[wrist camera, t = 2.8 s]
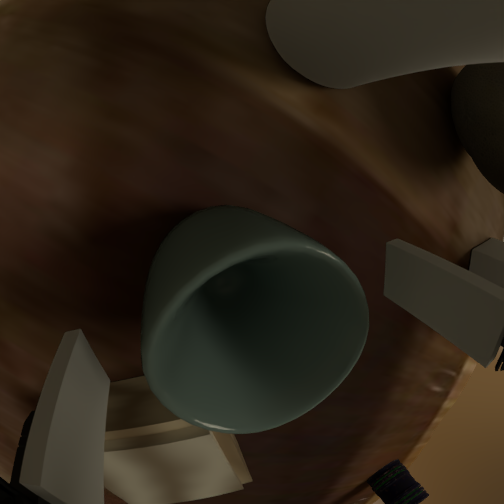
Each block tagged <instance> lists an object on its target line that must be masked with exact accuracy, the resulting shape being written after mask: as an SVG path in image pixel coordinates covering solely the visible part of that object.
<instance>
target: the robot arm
mask: <svg viewBox="0 0 504 504" xmlns="http://www.w3.org/2000/svg"><path fill="white" fill-rule="evenodd" d="M384 296H386V297H387V298H389V299H390V300H392V301H393V302H395V303H396V304H398V305H399V306H401V307H402V308H403V309H405V310H406V311H408V312H409V313H411V314H412V315H414V316H415V317H416V318H418V319H419V320H421V321H422V322H424V323H425V324H426V325H428V326H429V327H431V328H432V329H433V330H435V331H436V332H438V333H439V334H440V335H442V336H443V337H445V338H446V339H447V340H449V341H450V342H451V343H453V344H454V345H456V346H457V347H458V348H460V349H461V350H462V351H464V352H465V353H466V354H468V355H469V356H470V357H472V358H473V359H474V360H476V361H477V362H478V363H480V364H481V365H482V366H484V367H485V368H486V367H487V366H488V365H489V364H490V363H491V362H492V361H493V360H494V358H495V357H496V354H497V352H498V350H499V347H500V345H501V346H502V347H504V288H502V287H500V286H498V285H496V284H494V283H492V282H490V281H488V280H486V279H484V278H482V277H480V276H478V275H476V274H474V273H472V272H470V271H468V270H466V269H464V268H462V267H460V266H458V265H456V264H454V263H451V262H449V261H447V260H445V259H443V258H441V257H438V256H436V255H434V254H432V253H430V252H427V251H425V250H423V249H421V248H418V247H416V246H414V245H411V244H409V243H407V242H404V241H402V240H400V239H395V240H392V241H389V242H386V266H385V284H384ZM502 362H503V364H502V366H501V371H502V370H504V348H503V351H502V353H501V355H500V357H499V359H498V362H497V364H496V366H495V371H498V369H499V367H500V365H501V363H502ZM109 387H110V379H109V378H108V376H107V374H106V373H105V371H104V369H103V368H102V366H101V364H100V363H99V361H98V359H97V358H96V356H95V354H94V352H93V351H92V349H91V347H90V345H89V343H88V342H87V340H86V338H85V336H84V334H83V332H82V330H81V329H77V330H73V331H68V332H65V334H64V336H63V338H62V341H61V343H60V345H59V348H58V350H57V352H56V355H55V357H54V360H53V362H52V365H51V367H50V370H49V373H48V375H47V378H46V381H45V384H44V386H43V389H42V392H41V395H40V398H39V401H38V404H37V408H36V411H32V412H31V413H30V415H29V416H28V418H27V419H26V421H25V422H24V425H23V429H22V432H21V436H22V437H20V440H19V444H18V445H19V447H18V448H17V452H16V456H15V461H14V466H13V471H12V476H11V482H10V484H9V483H7V482H6V481H5V480H4V479H2V478H1V477H0V504H104V442H105V426H106V414H107V404H108V395H109Z"/></svg>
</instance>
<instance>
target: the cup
mask: <svg viewBox="0 0 504 504" xmlns="http://www.w3.org/2000/svg"><path fill="white" fill-rule="evenodd" d="M368 329H369V310H368V305H367V301H366V297H365V293H364V290H363V288H362V287H361V285H360V283H359V281H358V279H357V277H356V275H355V274H354V273H353V272H352V271H351V270H350V268H349V267H348V266H347V265H346V264H345V262H344V261H343V260H342V259H341V258H340V257H338V256H337V255H336V254H334V253H333V252H332V251H330V250H329V249H328V248H326V247H325V246H323V245H322V244H321V243H319V242H318V241H316V240H314V239H313V238H311V237H309V236H308V235H306V234H304V233H302V232H300V231H298V230H296V229H294V228H293V227H291V226H289V225H287V224H285V223H283V222H281V221H278V220H276V219H274V218H272V217H269V216H267V215H264V214H262V213H259V212H257V211H254V210H252V209H249V208H245V207H239V206H232V205H219V206H211V207H208V208H205V209H202V210H199V211H196V212H195V213H193V214H191V215H189V216H188V217H186V218H184V219H183V220H182V221H181V222H179V223H178V224H177V225H176V226H175V227H174V228H172V230H171V231H170V232H169V233H168V234H167V236H166V237H165V238H164V239H163V241H162V242H161V244H160V246H159V248H158V250H157V251H156V253H155V255H154V257H153V260H152V263H151V266H150V269H149V272H148V276H147V280H146V284H145V290H144V297H143V306H142V317H141V363H142V369H143V372H144V375H145V378H146V380H147V383H148V385H149V388H150V390H151V391H152V392H153V394H154V395H155V396H156V398H157V399H158V400H159V402H160V403H161V404H162V405H163V406H165V407H166V408H167V409H168V410H169V411H171V412H172V413H173V414H174V415H176V416H177V417H179V418H181V419H182V420H184V421H186V422H188V423H190V424H192V425H194V426H197V427H200V428H203V429H206V430H209V431H214V432H220V433H226V434H247V433H255V432H261V431H265V430H268V429H272V428H275V427H278V426H280V425H283V424H285V423H287V422H290V421H292V420H294V419H296V418H297V417H299V416H301V415H303V414H304V413H306V412H308V411H309V410H311V409H312V408H313V407H315V406H316V405H317V404H319V403H320V402H321V401H323V400H324V399H325V398H326V397H327V396H328V395H329V394H331V393H332V392H333V391H334V390H335V389H336V388H337V387H338V386H339V385H340V384H341V382H342V381H343V380H344V379H345V378H346V376H347V375H348V374H349V373H350V371H351V370H352V368H353V367H354V365H355V363H356V362H357V360H358V359H359V357H360V355H361V352H362V350H363V347H364V345H365V343H366V339H367V334H368Z"/></svg>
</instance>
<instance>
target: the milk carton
mask: <svg viewBox="0 0 504 504" xmlns="http://www.w3.org/2000/svg"><path fill="white" fill-rule="evenodd" d="M469 271H470V272H472V273H474V274H476V275H478V276H480V277H482V278H484V279H486V280H488V281H490V282H492V283H494V284H496V285H498V286H500V287H502V288H504V242H503V241H500V240H498V239H495V238H491V239H489V240H488V241H486V242H484V243H483V244H481V245H479V246H478V247H476V248H474V249H473V250H472V254H471V261H470V267H469Z"/></svg>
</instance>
